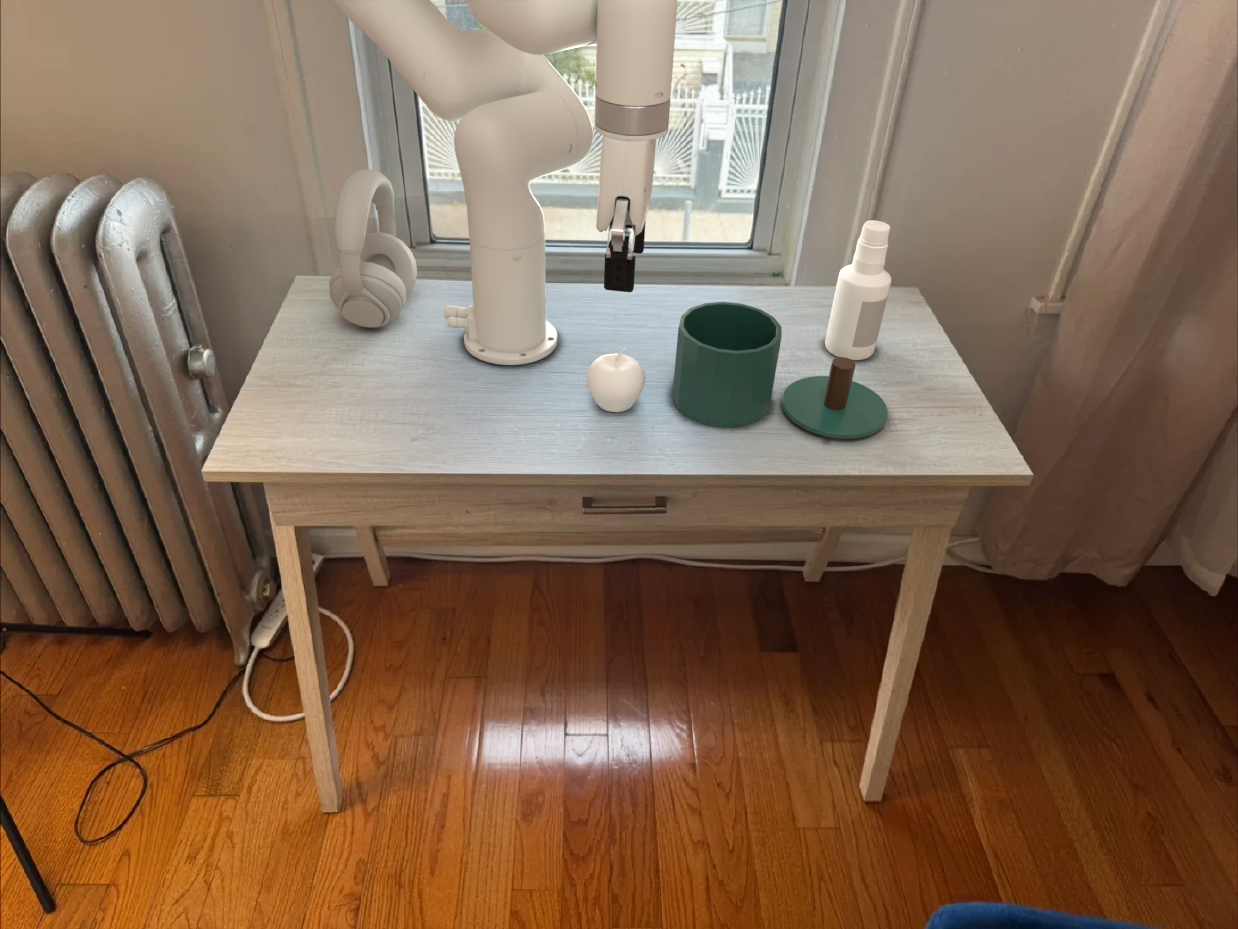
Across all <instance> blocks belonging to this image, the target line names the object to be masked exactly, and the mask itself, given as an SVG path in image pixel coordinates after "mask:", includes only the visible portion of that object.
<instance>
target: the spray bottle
mask: <svg viewBox="0 0 1238 929" xmlns="http://www.w3.org/2000/svg"><path fill="white" fill-rule="evenodd" d="M890 232H891V226H890V224H888V223H886V222H885V221H881V220H874V219H873V220H866V221H865V222H864V223H863V225H862V227H861V232H860V235H859V237H858V239H857V242H856V247H855V251H854V254H853V256H852V263H851V264H848V265H847V264H846V265H845V266H844V267H842V268H841V269H840V270H839V273H838V277H837V281H836V286H835V291H834V295H833V300H832V305H831V310H830V316H829V320H828V324H827V325H828V326H827V329H826V334H825V339H824V344H825V348H826V350H827V351H828V352H829V353H830V354H832V355H833V356H835V357H846V358H849V359H851V360H853V361H862V360H867V359H868V358H870V357H871V356H873V354H874V353H875V349H876V346H877V342H878V338H879V334H880V329H881V325H882V321H883V317H884V313H885V309H886V305H887V301H888V296H889V293H890V289H891V285H892V277H891V275H890V273H889V272H888V271H886V269H884V268H885V263H886V256H887V253H888V252H887V251H888V248H889V235H890Z"/></svg>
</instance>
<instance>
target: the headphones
mask: <svg viewBox="0 0 1238 929" xmlns="http://www.w3.org/2000/svg"><path fill="white" fill-rule="evenodd" d="M337 198H338V199H337V203H336V207H335V213H334V242H335V247H336V250H337V255H338V264H339V266H337V268H336V269H335V270H334V271H333V272H332V274H331V275H330V279H329V285H328V286H329V287H328V289H329V297H330V300H331V302H332V304H333V305H334V307H335V308H337V309H338V312H339V314H340V316H341V317H342V318H344V319H345V321H347V322H350V323H352V324H354V325H356V326H359V327H362V328H370V329H371V328H373V329H375V328H380V327H384V326H386V325H388V323H389V322H392V321H394V320H395V319H396V318H398V317H399V316H400V314H401V312H402V311H403V308H404V306H405V304H406V302H407V297H408V296H409V295H410V294H411V292H412V290H413V288H414V287H415V284H416V282H417V276H418V266H417V261H416V258H415V257H414V256H415V255H414V254H413V252H412V250H411V249H410V248H409V246H407V245H406V244H405V242H404V241H403V240H401V239H400V238H398V237H397V220H396V212H395V211H396V207H395V191H394V188H393V185H392V183H391V181H390V180H389V178H388V177H387V176H386V175H384V174H383V173H382V172H380V171H378V170H374V169H370V168H369V169H360V170H356V171H355V172H353V173H352V174H350V175H349V177H347V179H346V180H345V182H344V184H342V188H341V189H340V192H339V195H338V197H337ZM371 204H374V206H375V210H376V211H377V220H378V232H371V233H368V234H366V232H367V226H368V220H369V214H370V208H371Z"/></svg>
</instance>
